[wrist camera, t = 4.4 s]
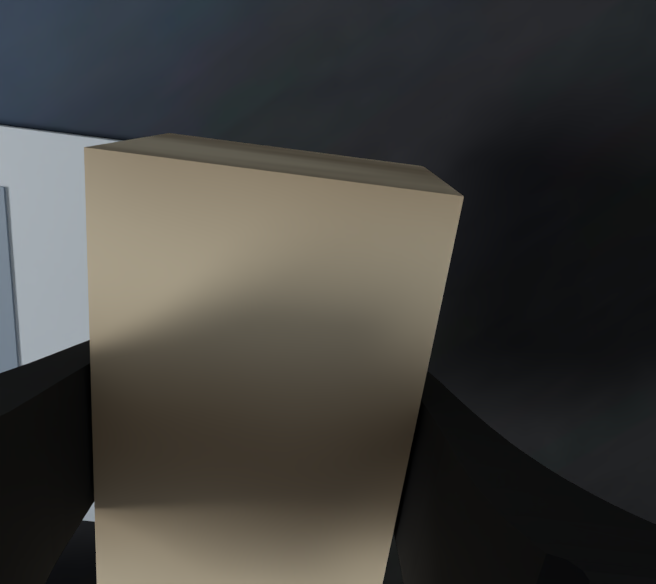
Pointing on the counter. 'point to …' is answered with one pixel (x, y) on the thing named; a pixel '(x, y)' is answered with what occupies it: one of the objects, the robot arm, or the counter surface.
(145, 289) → the slab
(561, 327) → the counter surface
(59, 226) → the white flat plate
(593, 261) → the counter surface
